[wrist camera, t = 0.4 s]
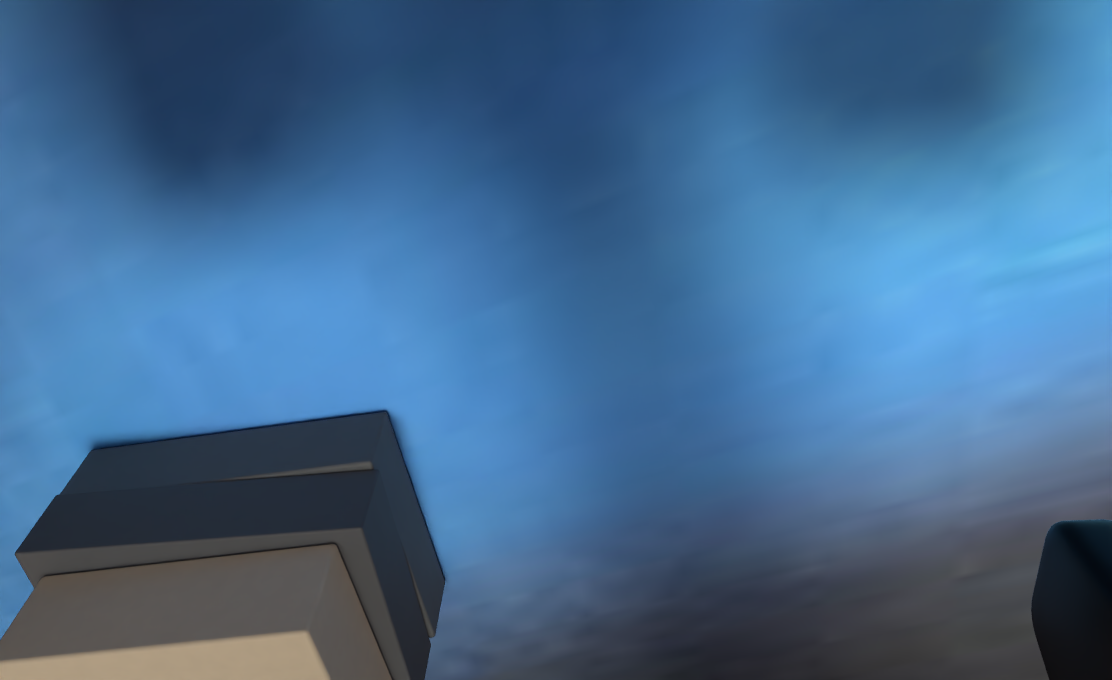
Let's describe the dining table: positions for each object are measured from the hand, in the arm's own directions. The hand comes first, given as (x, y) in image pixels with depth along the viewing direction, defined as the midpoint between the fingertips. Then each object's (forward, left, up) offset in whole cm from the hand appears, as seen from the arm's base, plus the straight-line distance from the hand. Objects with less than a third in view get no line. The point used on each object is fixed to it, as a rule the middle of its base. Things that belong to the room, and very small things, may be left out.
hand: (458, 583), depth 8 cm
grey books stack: (-11, +10, -14) cm, 20 cm away
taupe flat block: (-11, +10, -10) cm, 17 cm away
